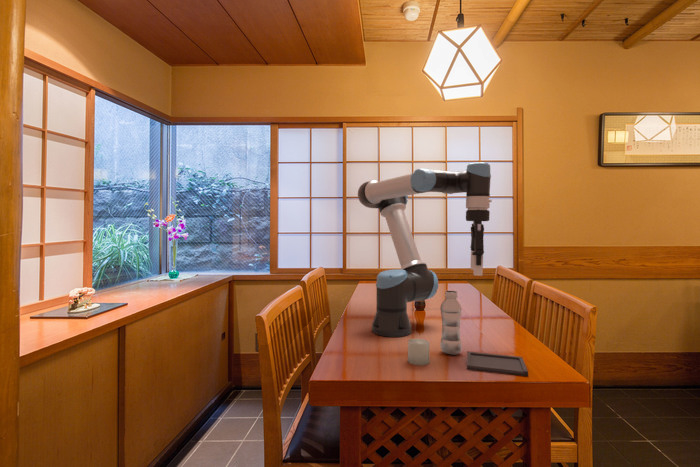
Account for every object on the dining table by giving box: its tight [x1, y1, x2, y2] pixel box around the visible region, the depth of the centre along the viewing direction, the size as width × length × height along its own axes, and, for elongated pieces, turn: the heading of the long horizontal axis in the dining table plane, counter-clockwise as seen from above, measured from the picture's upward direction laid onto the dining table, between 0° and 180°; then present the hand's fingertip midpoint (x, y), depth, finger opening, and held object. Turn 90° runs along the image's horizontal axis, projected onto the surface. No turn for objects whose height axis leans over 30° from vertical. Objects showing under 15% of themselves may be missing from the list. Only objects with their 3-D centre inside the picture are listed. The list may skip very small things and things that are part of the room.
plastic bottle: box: [439, 290, 463, 355], centre depth 120 cm, size 6×7×20 cm
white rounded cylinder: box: [407, 338, 431, 367], centre depth 113 cm, size 6×6×6 cm
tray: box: [466, 351, 529, 377], centre depth 110 cm, size 16×12×1 cm
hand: (476, 272), depth 126 cm, fingers open, 13 cm apart
